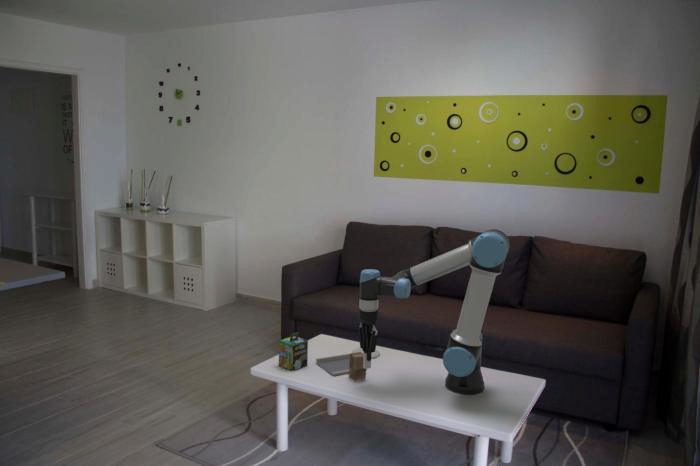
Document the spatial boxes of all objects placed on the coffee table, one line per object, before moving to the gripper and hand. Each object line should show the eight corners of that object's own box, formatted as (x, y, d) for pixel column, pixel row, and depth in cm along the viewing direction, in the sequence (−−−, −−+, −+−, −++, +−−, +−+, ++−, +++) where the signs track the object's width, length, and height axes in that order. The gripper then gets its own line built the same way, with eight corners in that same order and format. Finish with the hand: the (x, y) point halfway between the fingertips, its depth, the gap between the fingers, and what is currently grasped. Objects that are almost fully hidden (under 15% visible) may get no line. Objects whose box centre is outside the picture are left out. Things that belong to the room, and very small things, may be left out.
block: (365, 379, 233) (366, 355, 232) (354, 381, 230) (355, 357, 229) (359, 375, 237) (360, 351, 236) (348, 377, 235) (349, 353, 234)
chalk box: (293, 360, 252) (293, 328, 251) (308, 365, 247) (308, 332, 245) (277, 366, 245) (278, 332, 244) (292, 371, 240) (293, 337, 238)
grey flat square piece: (366, 370, 243) (366, 364, 243) (333, 376, 235) (333, 370, 235) (348, 358, 257) (348, 353, 256) (316, 363, 249) (316, 358, 249)
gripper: (386, 312, 220) (383, 371, 223) (368, 304, 231) (366, 361, 234) (369, 314, 216) (367, 374, 219) (352, 306, 227) (350, 363, 230)
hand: (366, 367), depth 226 cm, fingers closed
